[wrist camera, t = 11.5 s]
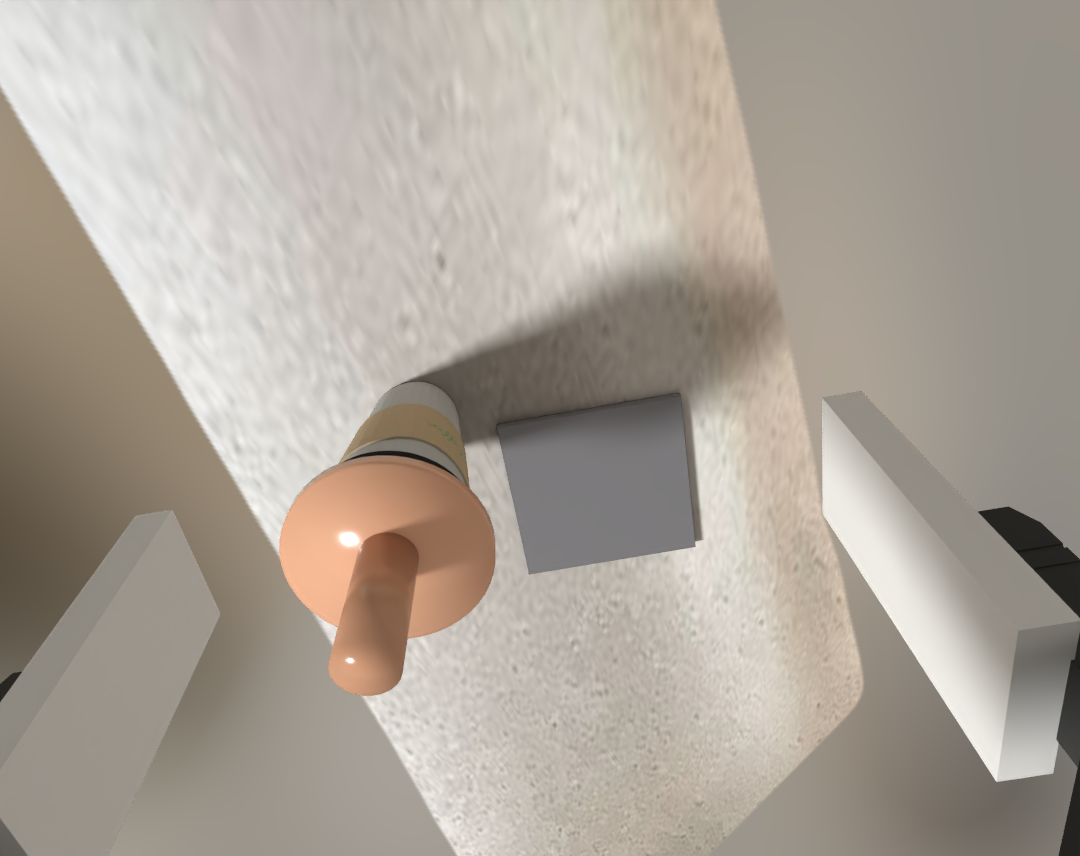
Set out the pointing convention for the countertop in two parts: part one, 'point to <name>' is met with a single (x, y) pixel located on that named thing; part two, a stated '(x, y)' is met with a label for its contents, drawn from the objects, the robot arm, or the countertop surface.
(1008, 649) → the robot arm
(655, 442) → the mat
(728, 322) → the countertop surface
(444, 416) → the coffee cup
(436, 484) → the lid
